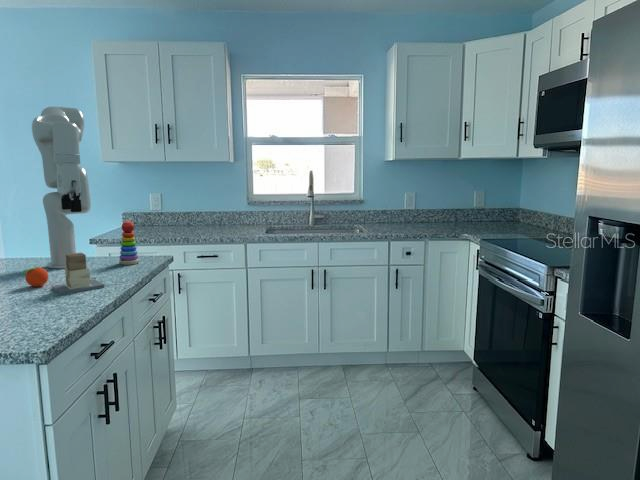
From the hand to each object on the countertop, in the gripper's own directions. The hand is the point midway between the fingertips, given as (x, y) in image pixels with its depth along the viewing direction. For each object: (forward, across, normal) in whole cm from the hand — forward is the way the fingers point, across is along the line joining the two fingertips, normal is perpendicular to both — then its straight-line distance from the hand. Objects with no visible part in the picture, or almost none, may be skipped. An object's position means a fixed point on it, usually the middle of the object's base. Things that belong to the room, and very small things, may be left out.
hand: (71, 210), depth 151 cm
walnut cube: (+20, 0, 0) cm, 20 cm away
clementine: (+28, -12, -10) cm, 32 cm away
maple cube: (+26, +1, 0) cm, 26 cm away
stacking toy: (+28, -27, +29) cm, 49 cm away
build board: (+27, +1, 0) cm, 27 cm away
